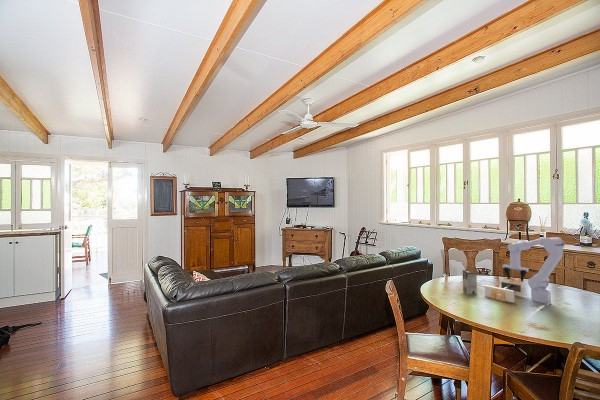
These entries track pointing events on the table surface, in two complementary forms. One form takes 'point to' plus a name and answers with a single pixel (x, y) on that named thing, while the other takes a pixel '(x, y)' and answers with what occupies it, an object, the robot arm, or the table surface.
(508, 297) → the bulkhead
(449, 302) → the table surface
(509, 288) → the shaft
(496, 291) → the block
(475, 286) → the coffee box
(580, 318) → the table surface
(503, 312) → the table surface
